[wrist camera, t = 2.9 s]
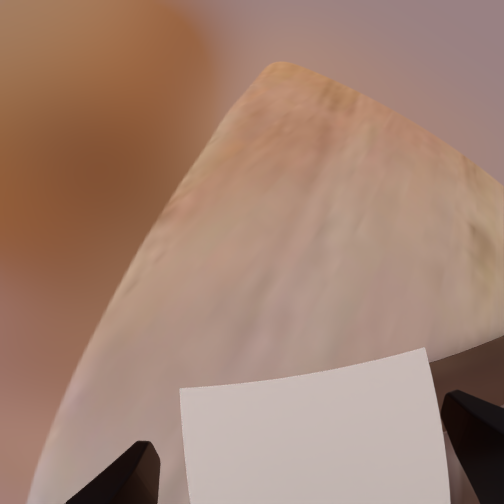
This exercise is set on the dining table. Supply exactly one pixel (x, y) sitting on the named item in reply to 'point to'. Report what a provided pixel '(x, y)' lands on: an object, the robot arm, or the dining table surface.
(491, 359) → the square socket base
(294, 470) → the tan box white top
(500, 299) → the dining table surface
